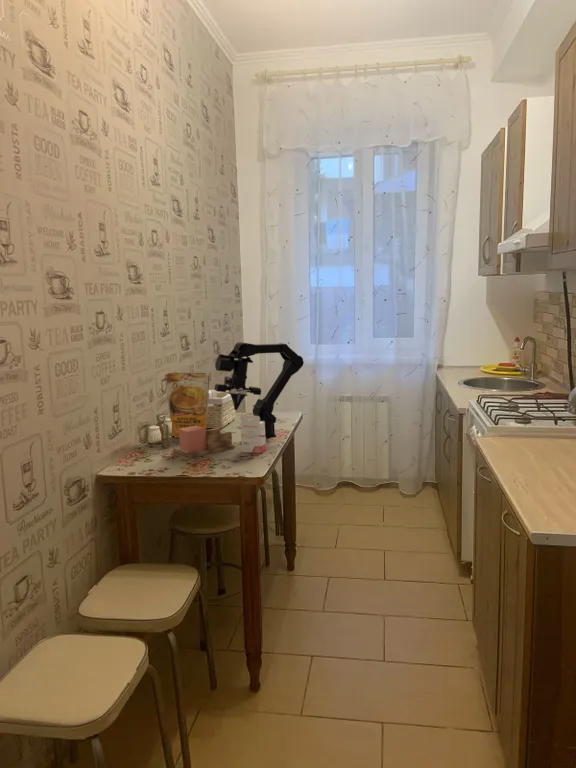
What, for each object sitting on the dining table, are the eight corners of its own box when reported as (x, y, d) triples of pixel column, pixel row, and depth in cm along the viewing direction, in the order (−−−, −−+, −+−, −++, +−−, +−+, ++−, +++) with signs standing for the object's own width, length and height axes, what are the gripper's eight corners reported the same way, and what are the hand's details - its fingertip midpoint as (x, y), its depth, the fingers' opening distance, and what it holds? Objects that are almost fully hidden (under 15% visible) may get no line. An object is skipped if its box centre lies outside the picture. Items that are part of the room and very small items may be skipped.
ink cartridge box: (266, 450, 234) (265, 413, 231) (261, 453, 229) (260, 416, 227) (246, 448, 236) (245, 412, 234) (241, 452, 232) (239, 415, 229)
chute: (216, 441, 249) (215, 427, 248) (234, 448, 238) (233, 433, 237) (173, 450, 237) (172, 435, 236) (190, 458, 226) (189, 442, 225)
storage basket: (208, 417, 296) (206, 388, 293) (239, 418, 292) (238, 388, 290) (190, 429, 272) (188, 397, 270) (224, 430, 269) (222, 398, 267)
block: (197, 444, 239) (196, 425, 238) (206, 448, 234) (205, 428, 233) (180, 448, 235) (178, 428, 233) (188, 452, 229) (187, 431, 228)
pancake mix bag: (171, 434, 264) (167, 372, 259) (212, 434, 261) (209, 371, 256) (166, 438, 257) (161, 374, 253) (208, 438, 254) (204, 374, 250)
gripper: (255, 373, 257) (251, 408, 258) (213, 368, 250) (209, 405, 251) (263, 375, 246) (259, 412, 247) (219, 371, 240) (215, 409, 241)
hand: (235, 409), depth 247 cm, fingers closed
